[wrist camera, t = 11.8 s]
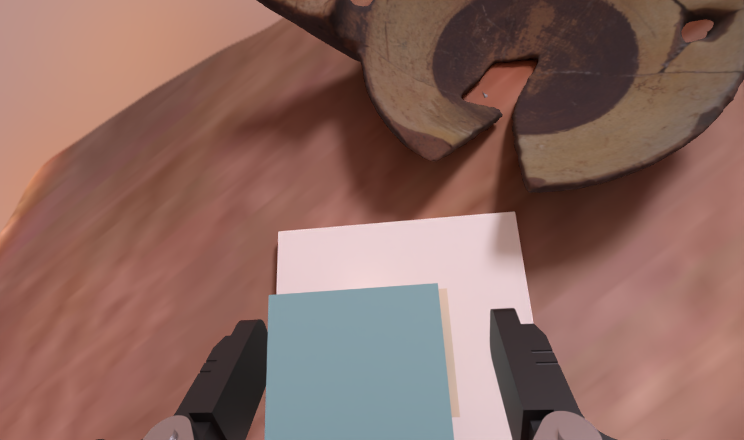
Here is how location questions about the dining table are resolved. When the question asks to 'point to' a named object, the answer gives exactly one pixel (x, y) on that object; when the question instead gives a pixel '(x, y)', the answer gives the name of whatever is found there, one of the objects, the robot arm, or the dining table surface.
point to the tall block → (357, 365)
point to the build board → (426, 266)
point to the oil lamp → (542, 75)
